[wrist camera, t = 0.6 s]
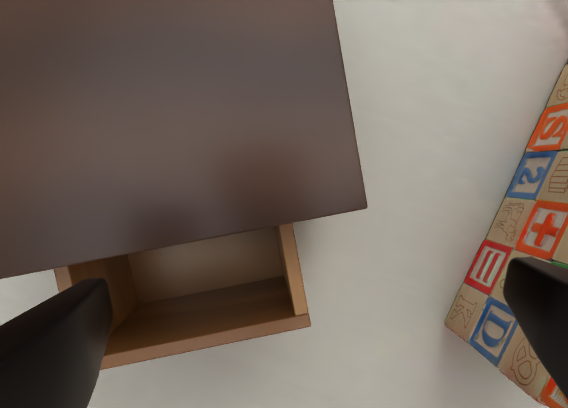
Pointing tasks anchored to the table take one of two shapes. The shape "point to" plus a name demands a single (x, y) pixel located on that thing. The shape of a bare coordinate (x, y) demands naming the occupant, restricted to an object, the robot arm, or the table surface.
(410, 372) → the table surface
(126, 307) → the wood grain slab box
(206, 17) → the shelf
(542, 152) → the stack of blocks
